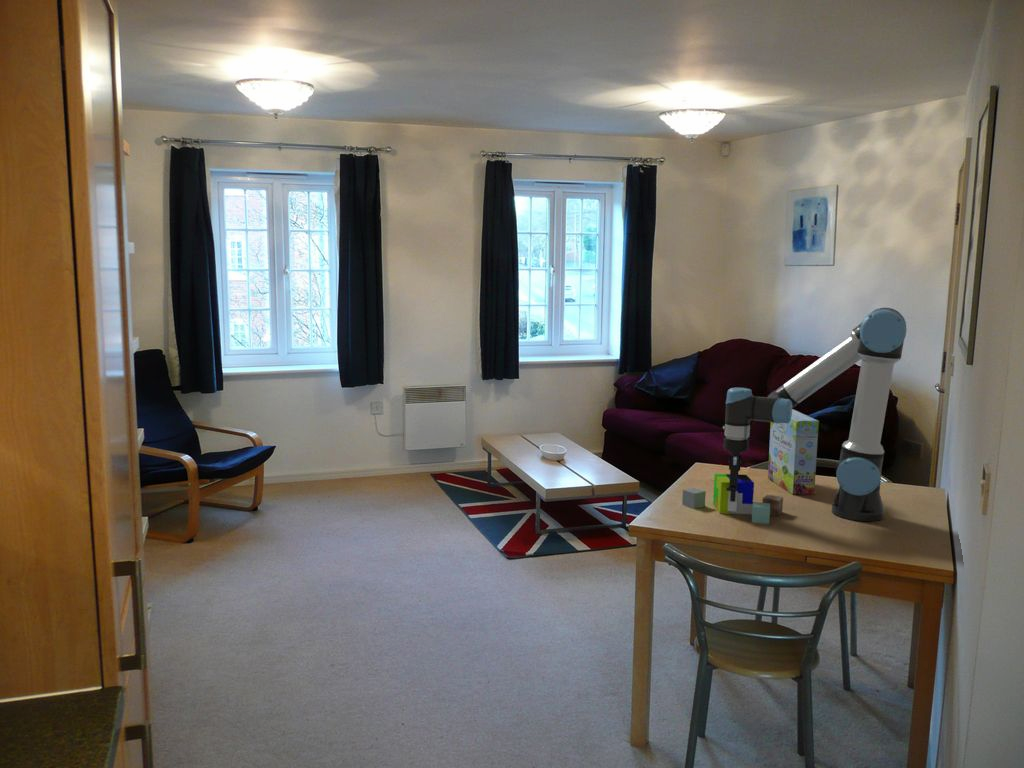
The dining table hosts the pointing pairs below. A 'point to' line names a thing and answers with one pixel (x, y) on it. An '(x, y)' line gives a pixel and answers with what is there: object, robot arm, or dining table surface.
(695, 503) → the slate grey cube
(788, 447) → the snack box
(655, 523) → the dining table surface
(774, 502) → the walnut cube
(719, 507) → the puzzle toy
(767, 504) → the dusty teal cube
